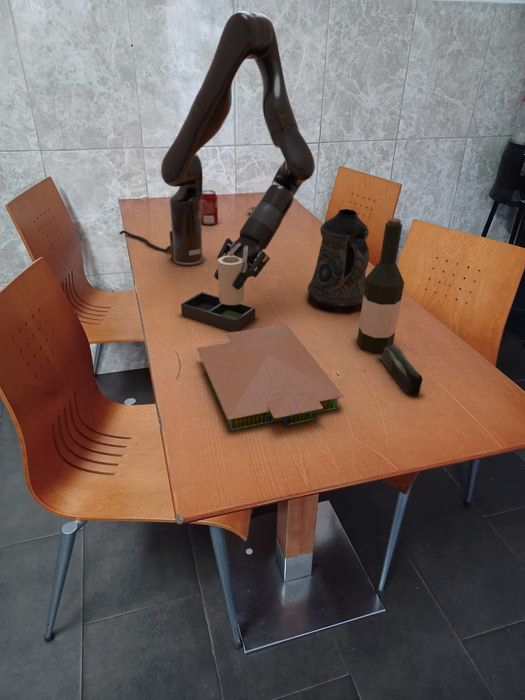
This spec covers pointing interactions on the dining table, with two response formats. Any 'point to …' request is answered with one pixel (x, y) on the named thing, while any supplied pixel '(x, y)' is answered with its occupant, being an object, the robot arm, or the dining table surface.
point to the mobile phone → (401, 370)
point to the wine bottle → (382, 295)
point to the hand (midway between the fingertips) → (226, 283)
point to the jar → (229, 280)
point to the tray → (218, 312)
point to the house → (266, 375)
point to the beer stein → (341, 264)
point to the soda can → (209, 207)
